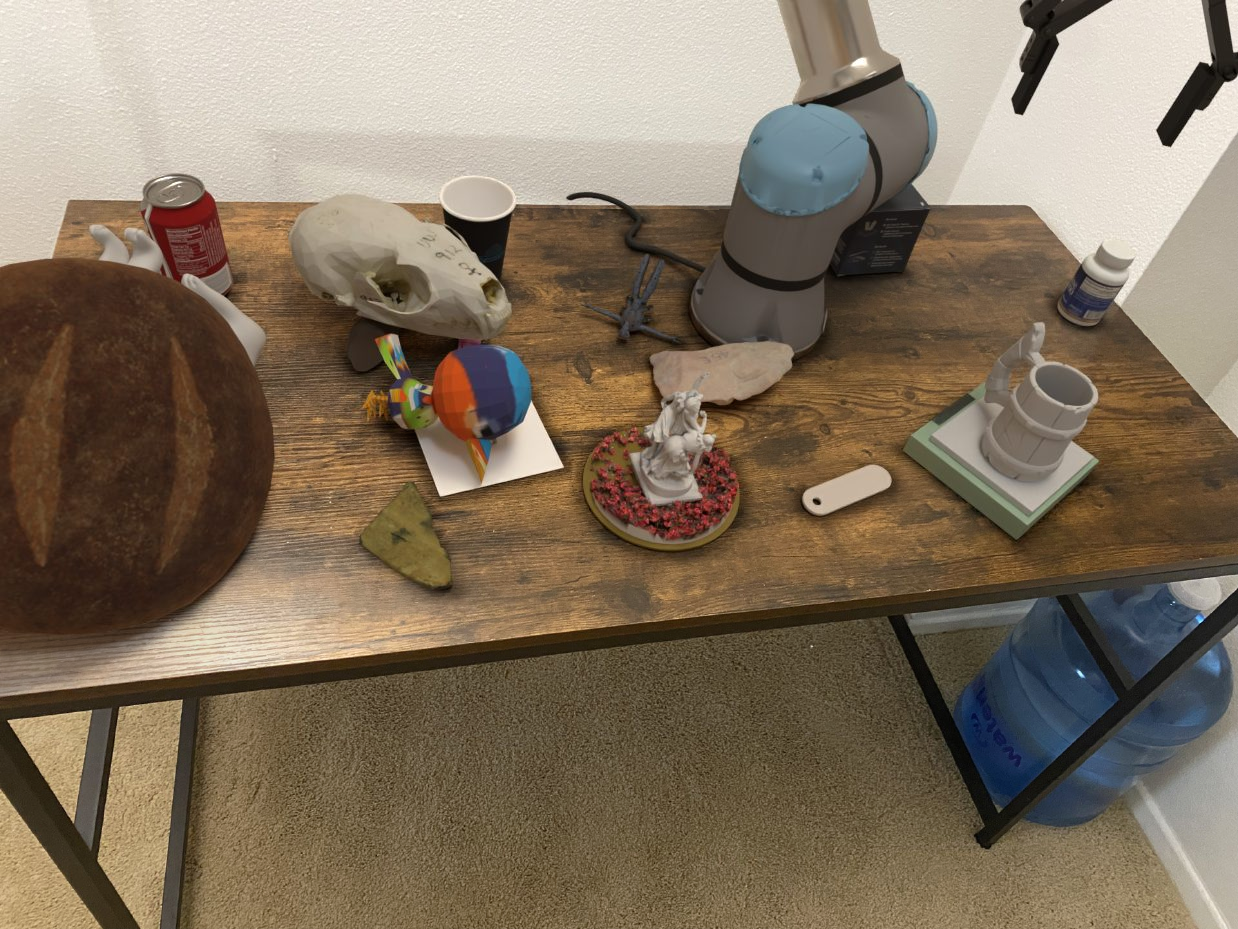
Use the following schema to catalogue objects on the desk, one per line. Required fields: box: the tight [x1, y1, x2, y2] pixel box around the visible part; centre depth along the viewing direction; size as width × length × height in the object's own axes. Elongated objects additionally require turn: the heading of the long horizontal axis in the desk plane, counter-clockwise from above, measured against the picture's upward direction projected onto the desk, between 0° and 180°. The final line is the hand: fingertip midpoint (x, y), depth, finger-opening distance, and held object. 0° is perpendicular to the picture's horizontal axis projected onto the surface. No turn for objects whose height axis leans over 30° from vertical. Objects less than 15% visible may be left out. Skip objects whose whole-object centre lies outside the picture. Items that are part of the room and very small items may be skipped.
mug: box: [982, 321, 1099, 482], centre depth 89 cm, size 8×12×12 cm, turn 16°
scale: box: [902, 380, 1100, 540], centre depth 94 cm, size 14×14×3 cm
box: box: [829, 183, 932, 277], centre depth 112 cm, size 9×6×10 cm, turn 104°
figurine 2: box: [579, 253, 682, 344], centre depth 100 cm, size 12×10×5 cm
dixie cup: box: [438, 174, 517, 282], centre depth 99 cm, size 8×8×11 cm
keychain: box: [801, 464, 892, 517], centre depth 90 cm, size 10×1×3 cm
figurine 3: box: [582, 372, 741, 552], centre depth 82 cm, size 15×15×14 cm
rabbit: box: [88, 224, 267, 369], centre depth 75 cm, size 12×21×25 cm
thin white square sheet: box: [414, 400, 565, 498], centre depth 88 cm, size 12×12×2 cm
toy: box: [361, 334, 533, 484], centre depth 84 cm, size 10×14×15 cm
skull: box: [288, 193, 513, 342], centre depth 89 cm, size 14×24×10 cm, turn 58°
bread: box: [0, 257, 276, 636], centre depth 67 cm, size 28×27×9 cm
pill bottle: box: [1057, 238, 1137, 327], centre depth 111 cm, size 5×5×10 cm
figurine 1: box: [345, 292, 404, 372], centre depth 95 cm, size 6×4×12 cm
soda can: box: [139, 172, 234, 297], centre depth 93 cm, size 7×7×12 cm
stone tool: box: [649, 341, 794, 406], centre depth 96 cm, size 9×5×15 cm
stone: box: [359, 481, 454, 591], centre depth 79 cm, size 12×7×2 cm, turn 24°
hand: (1089, 123), depth 84 cm, fingers open, 13 cm apart
